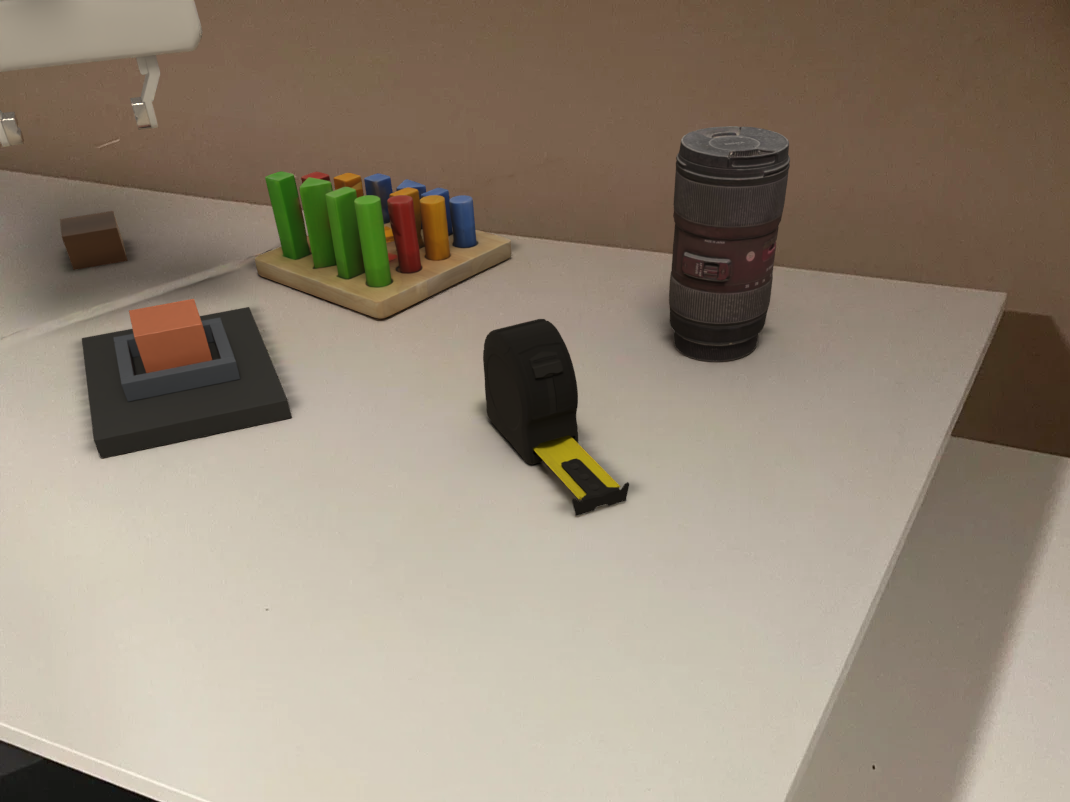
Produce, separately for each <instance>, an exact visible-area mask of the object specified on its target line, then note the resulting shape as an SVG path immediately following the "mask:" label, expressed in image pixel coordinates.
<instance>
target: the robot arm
mask: <svg viewBox="0 0 1070 802" xmlns="http://www.w3.org/2000/svg"><path fill="white" fill-rule="evenodd" d="M203 35H204V32H203V26H202V23H201V20H200V16H199V12H198V9H197V4H196V2H195V0H0V73H6V72H14V71H23V70H32V69H42V68H51V67H52V68H53V67H61V66H71V65H79V64H87V63H89V64H90V63H98V62H107V61H116V60H124V59H133V58H135V60H136V63H137V67H138V70H139V74H140V75H142V76H144V80H143V85H142V89H141V92H140V96H136V97H130V98H129V100H130V105H131V108H132V112H133V115H134V119H135V122H136V123H135V124H136V126H137V130H138V131H140V130H141V131H143V130H144V131H145V130H151V129H159V123H158V119H157V116H156V111H155V107H154V104H153V102H154V101H155V98H156V93H157V90H158V85H159V82H160V77H161V74H162V73H161V70H160V66H159V62H158V58H157V56H160V55H161V56H162V55H170V54H171V55H172V54H181V53H188V52H189V53H191V52H195V51H196V50H197V49H198V47H199V45H200V43H201V42H202V38H203ZM0 144H1V147H2V148H5V147H7V148H8V147H9V148H10V147H13V146H21V145H25V138H24V135H23V132H22V128H20V127H19V120H18V117H17V115H16V111H7V112H3V111H2V110H1V109H0Z"/></svg>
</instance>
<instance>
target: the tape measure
mask: <svg viewBox="0 0 1070 802" xmlns="http://www.w3.org/2000/svg"><path fill="white" fill-rule="evenodd" d="M482 362H483V364H482V365H483V374H484V375H483V376H484V377H483V378H484V393H485V403H486V404H485V405H486V414H487V417H488V419H489V421H490V422H491V423H492V425H494V427H495V428H496V429H497V430H498V431H499V432H500V433H501V435H502V436H503V437H504V438H505V439H506V441H508V442H509V444H510V445H511V446H512V447H513V449H515V451H516V453H518V455H519V456H521V458H522V459H523V460H524V462H526V464H528V465H535V464H540V463H543V462H544V463H545V464H546V465H547V466H548V468H549V469H550V470H551V471H552V472H553V473H554V475H556V476H557V478H559V480H561V482H562V483H563V484H564V485H565V486H566V487H567V488H568V489H569V490H570V492H571V493H572V494H573V495H574V496H575V497H576V498H572V501H571V502H572V506H573V510H574V515H575V517H578V516H581V515H584V514H588V513H591V512H594V511H595V509H597V508H598V507H602V506H605V505H606V506H608V507H610V506H614V505H617V504H620V503H623V502H626V501H627V497H628V492H629V488H630V483H629V482H628V481H627V482H625V483H624V484H623V486H622V487H621V485H620V484H619V483H618V482H617V481H616V480H615V479H614V478H613V477H612V476H611V475H610V474H609V473H608V472H607V471H606V470H605V469H604V468H603V467H602V466H601V465H600V464H599V463H598V462H597V461H596V460H595V459H594V458H593V457H592V456H591V455H590V454H589V453H588V451H586V450H585V449H584V448H583V447H582V446H581V444H579V430H578V429H579V427H578V421H577V412H578V406H579V392H578V391H579V390H578V382H577V377H576V372H575V368H574V367H575V366H574V363H573V361H572V357H571V354H570V351H569V349H568V346H567V345H566V342H565V340H564V339H563V337H562V335H561V333H560V331H559V329H558V328H557V327H556V326H555V325H554V323H552V322H551V321H549V320H547V319H545V318H537V319H532V320H528V321H524V322H520V323H516V324H512V325H508V326H504V327H500V328H497V329H493V330H490V331H489V332H488V333H487V335H486V337H485V339H484V343H483V351H482Z"/></svg>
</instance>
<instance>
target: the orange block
mask: <svg viewBox="0 0 1070 802" xmlns="http://www.w3.org/2000/svg"><path fill="white" fill-rule="evenodd" d="M128 314H129V318H130V325H131V329H133V334H134V338H135V341H136V344H137V347H138V350H139V353H140V356H141V359H142V362H143V365H144V368H145V371H146V373H150V372H155V371H160V370H165V369H170V368H175V367H181V366H186V365H191V364H196V363H201V362H206V361H211V360H212V356H211V353H210V349H209V346H208V342H207V339H206V335H205V332H204V328H203V325H202V322H201V318H200V316H201V315H200V313H199V309H198V307H197V303H196V300H195V298H190V299H183V300H178V301H174V302H167V303H163V304H157V305H152V306H145V307H141V308H135V309H130V310H128Z"/></svg>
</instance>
